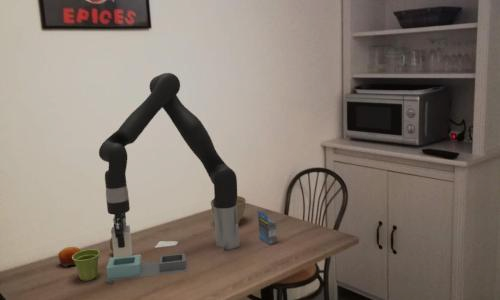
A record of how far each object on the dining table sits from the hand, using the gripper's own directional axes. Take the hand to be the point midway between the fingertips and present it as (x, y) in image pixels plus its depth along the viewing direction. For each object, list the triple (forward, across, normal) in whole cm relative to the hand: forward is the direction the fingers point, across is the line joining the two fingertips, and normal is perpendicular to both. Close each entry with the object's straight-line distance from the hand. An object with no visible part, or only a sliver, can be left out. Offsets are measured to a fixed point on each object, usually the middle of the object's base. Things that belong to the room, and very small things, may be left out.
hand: (122, 244), depth 164 cm
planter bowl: (+11, +43, -43) cm, 62 cm away
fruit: (+12, +15, +22) cm, 29 cm away
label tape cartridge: (+11, +17, -56) cm, 60 cm away
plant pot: (+12, +1, +13) cm, 17 cm away
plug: (+4, 0, 0) cm, 4 cm away
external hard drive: (+12, +19, -13) cm, 26 cm away
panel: (+11, 0, -8) cm, 14 cm away
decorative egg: (+12, +20, +4) cm, 23 cm away
